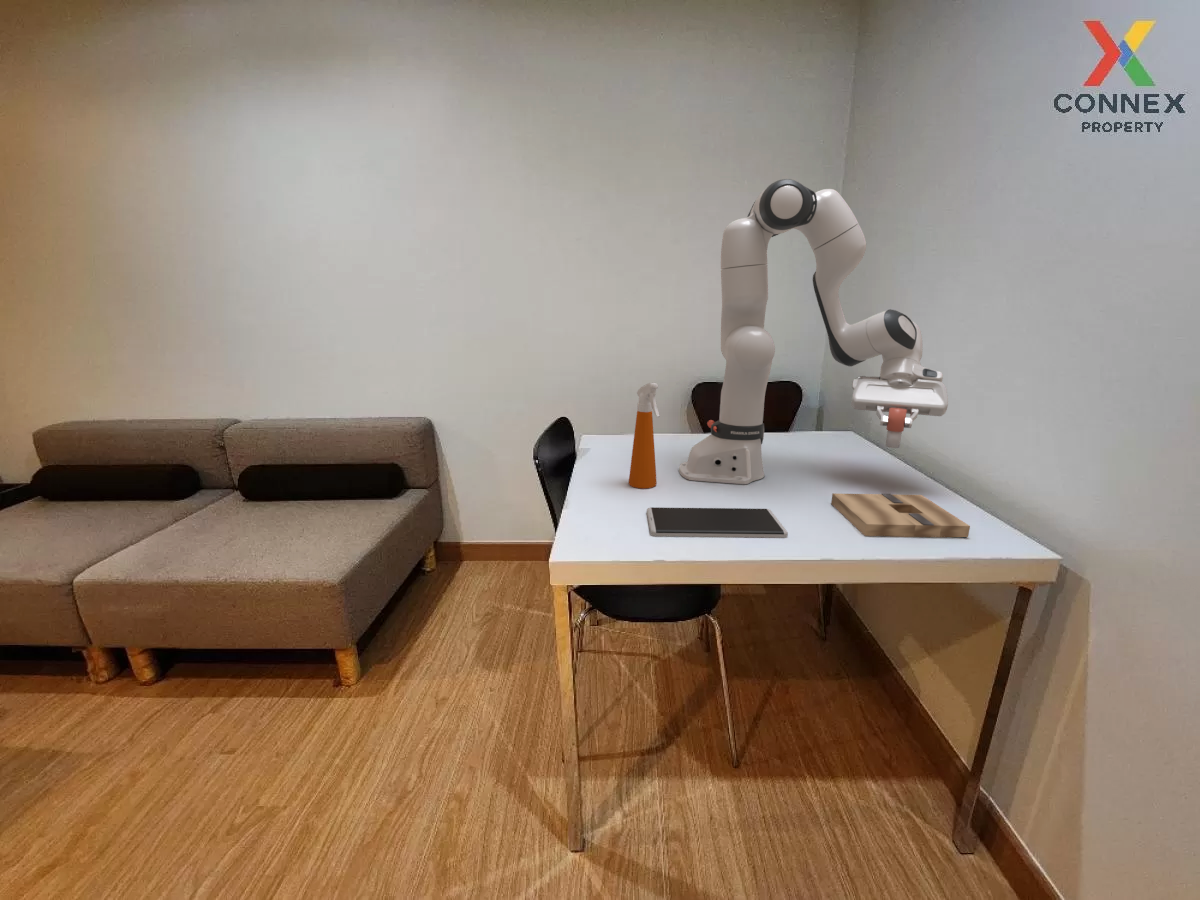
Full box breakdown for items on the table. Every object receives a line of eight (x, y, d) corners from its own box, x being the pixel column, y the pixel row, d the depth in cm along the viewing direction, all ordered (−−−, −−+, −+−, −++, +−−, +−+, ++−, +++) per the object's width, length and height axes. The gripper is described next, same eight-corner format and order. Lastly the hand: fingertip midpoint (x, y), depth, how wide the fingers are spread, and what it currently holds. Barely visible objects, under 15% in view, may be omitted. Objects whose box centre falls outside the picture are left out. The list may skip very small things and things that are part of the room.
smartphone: (788, 540, 108) (789, 532, 108) (650, 538, 109) (651, 530, 108) (769, 515, 121) (770, 507, 121) (646, 513, 122) (646, 506, 121)
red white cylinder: (888, 448, 129) (893, 410, 127) (881, 444, 133) (886, 407, 130) (903, 448, 129) (909, 410, 127) (896, 444, 133) (902, 407, 130)
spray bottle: (642, 495, 132) (645, 385, 125) (624, 481, 141) (625, 379, 134) (668, 491, 134) (673, 383, 127) (648, 478, 144) (652, 377, 137)
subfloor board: (864, 536, 109) (866, 523, 109) (831, 503, 127) (832, 492, 126) (967, 537, 109) (970, 525, 108) (919, 505, 126) (921, 494, 125)
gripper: (854, 367, 137) (848, 413, 131) (950, 373, 128) (948, 422, 122) (852, 383, 142) (846, 428, 136) (944, 389, 133) (942, 437, 127)
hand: (895, 425), depth 129 cm, fingers closed on red white cylinder, 4 cm apart
